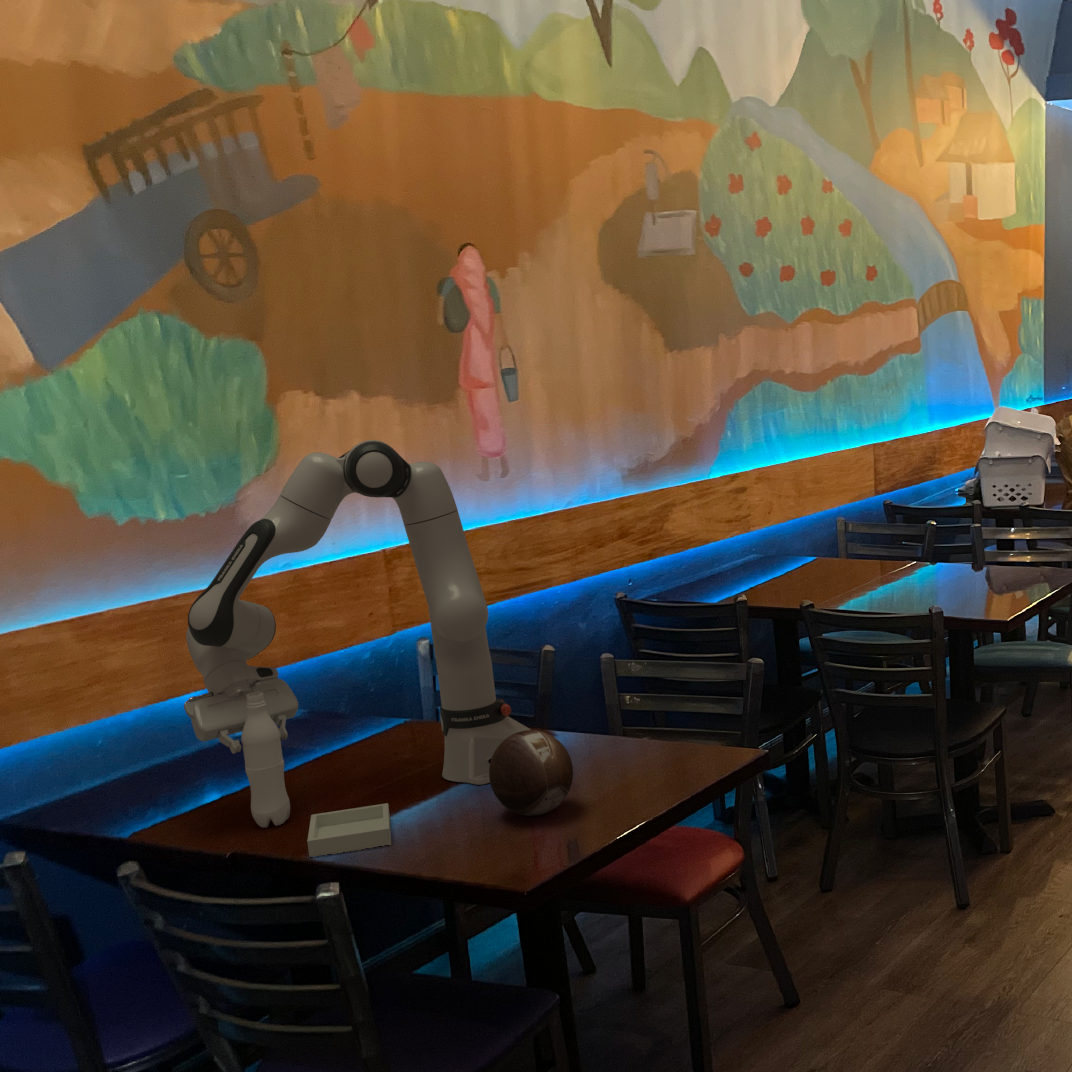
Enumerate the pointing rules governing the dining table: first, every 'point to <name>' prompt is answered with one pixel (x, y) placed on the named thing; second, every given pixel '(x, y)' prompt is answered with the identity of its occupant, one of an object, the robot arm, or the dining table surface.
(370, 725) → the dining table surface
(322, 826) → the tray
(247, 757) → the water bottle
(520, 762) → the wooden sphere
